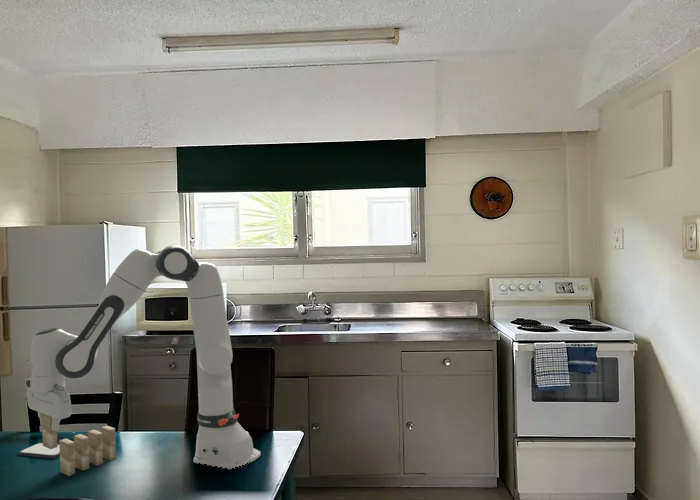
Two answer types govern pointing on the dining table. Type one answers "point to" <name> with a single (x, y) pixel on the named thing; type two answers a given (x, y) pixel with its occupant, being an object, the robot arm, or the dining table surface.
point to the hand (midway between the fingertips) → (49, 427)
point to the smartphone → (41, 451)
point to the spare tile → (48, 432)
